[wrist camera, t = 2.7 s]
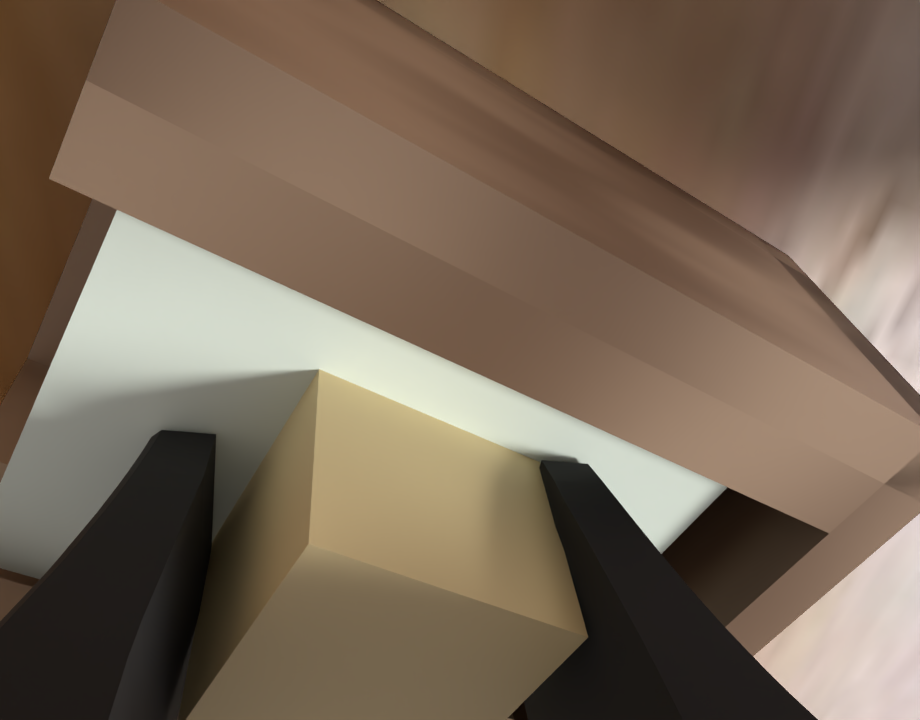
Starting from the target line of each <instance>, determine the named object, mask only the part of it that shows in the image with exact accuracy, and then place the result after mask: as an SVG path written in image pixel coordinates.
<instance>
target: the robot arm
mask: <svg viewBox="0 0 920 720" xmlns="http://www.w3.org/2000/svg"><path fill="white" fill-rule="evenodd" d="M215 453H216V434H208V433H196V432H183V431H170V430H161V431H159V432H158V433H156V434H155V435H153V436H152V437H151V438H150V440H149V441H148V443H147V444H146V446H145V448H144V449H143V451H142V452H141V454H140V455H139V457H138V458H137V459H136V461H135V462H134V464H133V465H132V467H131V468H130V469H129V471H128V472H127V474H126V475H125V476H124V478H123V479H122V480H121V482H120V483H119V485H118V486H117V487H116V489H115V490H114V491H113V492H112V494H111V495H110V496H109V498H108V499H107V500H106V501H105V503H104V504H103V505H102V507H101V508H100V509H99V510H98V512H97V513H96V514H95V515H94V517H93V518H92V519H91V520H90V521H89V523H88V524H87V525H86V526H85V527H84V529H83V530H82V531H81V532H80V533H79V535H78V536H77V537H76V538H75V539H74V540H73V542H72V543H71V544H70V545H69V546H68V548H67V549H66V550H65V551H64V552H63V554H62V555H61V556H60V557H59V558H58V560H57V561H56V562H55V563H54V564H53V565H52V566H51V568H50V569H49V570H48V571H47V572H46V573H45V574H44V575H43V576H42V578H41V579H40V580H39V581H38V582H37V583H36V584H35V585H34V586H33V587H32V588H31V589H30V590H29V591H28V592H27V593H26V595H25V596H24V597H23V598H22V599H21V600H20V601H19V602H18V603H17V604H16V605H15V606H14V607H13V608H12V609H11V610H10V612H9V613H8V614H7V615H6V616H5V617H4V618H3V619H2V620H1V621H0V720H177V717H178V713H179V710H180V705H181V700H182V695H183V690H184V684H185V679H186V674H187V669H188V663H189V658H190V653H191V647H192V642H193V637H194V632H195V627H196V624H197V620H198V616H199V612H200V606H201V601H202V596H203V590H204V585H205V580H206V575H207V569H208V564H209V559H210V553H211V548H212V525H213V501H214V477H215ZM539 469H540V472H541V476H542V480H543V483H544V487H545V490H546V494H547V498H548V501H549V505H550V509H551V512H552V516H553V520H554V523H555V527H556V530H557V532H558V535H559V538H560V541H561V543H562V546H563V549H564V552H565V555H566V559H567V562H568V566H569V570H570V573H571V577H572V580H573V584H574V588H575V591H576V595H577V598H578V602H579V606H580V609H581V613H582V616H583V620H584V623H585V627H586V631H587V634H588V638H587V639H586V640H585V641H584V642H583V643H582V644H581V645H580V646H579V647H578V648H577V649H576V650H575V651H574V652H573V653H572V654H571V655H570V656H569V657H568V658H567V659H566V660H565V661H564V662H563V663H562V664H561V665H560V666H559V667H558V668H557V669H556V670H555V671H554V672H553V673H552V674H551V675H550V676H549V677H548V678H547V679H546V680H545V681H544V682H543V683H542V684H541V685H540V686H539V687H538V688H537V689H536V690H535V691H534V692H533V693H532V694H531V695H530V696H529V697H528V698H527V699H526V700H525V701H524V704H525V708H526V713H527V717H528V720H818V719H817V718H815V717H814V716H813V715H812V714H811V713H810V712H809V711H808V710H807V709H806V708H805V707H804V706H803V705H801V704H800V703H799V702H798V701H797V700H796V699H795V698H794V697H793V696H792V695H791V694H790V693H789V692H788V691H787V690H786V689H785V688H784V687H782V686H781V685H780V684H779V683H778V682H777V681H776V680H775V679H774V678H773V677H772V676H771V675H770V674H769V673H768V672H767V671H766V670H765V669H764V668H763V667H762V666H761V665H760V663H759V662H758V661H757V660H756V659H755V658H754V657H753V656H752V655H751V654H750V653H749V652H748V651H747V650H746V649H745V648H744V647H743V646H742V644H741V643H740V642H739V641H738V640H737V639H736V638H735V637H734V636H733V635H732V634H731V633H730V632H729V631H728V630H727V629H726V628H725V627H724V626H723V624H722V623H721V622H720V621H719V620H718V619H717V618H716V617H715V616H714V614H713V613H712V612H711V611H710V610H709V609H708V608H707V607H706V606H705V604H704V603H703V602H702V601H701V600H700V599H699V598H698V597H697V595H696V594H695V593H694V592H693V591H692V590H691V588H690V587H689V586H688V585H687V584H686V583H685V582H684V580H683V579H682V578H681V577H680V576H679V574H678V573H677V572H676V571H675V570H674V569H673V567H672V566H671V565H670V564H669V563H668V561H667V560H666V559H665V558H664V557H663V555H662V554H661V553H660V552H659V551H658V549H657V548H656V547H655V546H654V545H653V543H652V542H651V541H650V540H649V538H648V537H647V536H646V535H645V533H644V532H643V531H642V530H641V529H640V527H639V526H638V525H637V524H636V522H635V521H634V520H633V519H632V517H631V516H630V515H629V514H628V512H627V511H626V510H625V509H624V507H623V506H622V505H621V504H620V502H619V501H618V500H617V499H616V497H615V496H614V495H613V494H612V492H611V491H610V490H609V489H608V487H607V486H606V485H605V484H604V482H603V481H602V480H601V479H600V478H599V476H598V475H597V474H596V473H595V472H594V470H593V469H592V468H591V467H590V466H589V464H584V463H572V462H559V461H547V460H541V464H540V467H539Z"/></svg>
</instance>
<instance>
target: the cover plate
mask: <svg viewBox="0 0 920 720" xmlns="http://www.w3.org/2000/svg"><path fill="white" fill-rule="evenodd" d="M161 430H170V431H183V432H196V433H208V434H216V453H215V477H214V501H213V525H212V548H211V553H210V559H209V564H208V569H207V575H206V580H205V585H204V590H203V596H202V601H201V606H200V612H199V616H198V620H197V624H196V627H195V632H194V637H193V642H192V647H191V653H190V658H189V663H188V669H187V674H186V679H185V684H184V690H183V695H182V700H181V705H180V711H179V716H178V720H506V719H507V718H508V717H509V716H510V715H511V714H512V713H513V712H514V711H515V710H516V709H517V708H518V707H519V706H520V705H521V704H522V703H523V702H524V701H525V700H526V699H527V698H528V697H529V696H530V695H531V694H532V693H533V692H534V691H535V690H536V689H537V688H538V687H539V686H540V685H541V684H542V683H543V682H544V681H545V680H546V679H547V678H548V677H549V676H550V675H551V674H552V673H553V672H554V671H555V670H556V669H557V668H558V667H559V666H560V665H561V664H562V663H563V662H564V661H565V660H566V659H567V658H568V657H569V656H570V655H571V654H572V653H573V652H574V651H575V650H576V649H577V648H578V647H579V646H580V645H581V644H582V643H583V642H584V641H585V640H586V639H587V638H588V634H587V631H586V627H585V623H584V620H583V616H582V613H581V609H580V606H579V602H578V598H577V595H576V591H575V588H574V584H573V580H572V577H571V573H570V570H569V566H568V562H567V559H566V555H565V552H564V549H563V546H562V543H561V541H560V538H559V535H558V532H557V530H556V527H555V523H554V520H553V516H552V512H551V509H550V505H549V501H548V498H547V494H546V490H545V487H544V483H543V480H542V476H541V472H540V469H539V467H540V464H541V460H547V461H559V462H572V463H584V464H589V466H590V467H591V468H592V469H593V470H594V472H595V473H596V474H597V475H598V476H599V478H600V479H601V480H602V481H603V482H604V484H605V485H606V486H607V487H608V489H609V490H610V491H611V492H612V494H613V495H614V496H615V497H616V499H617V500H618V501H619V502H620V504H621V505H622V506H623V507H624V509H625V510H626V511H627V512H628V514H629V515H630V516H631V517H632V519H633V520H634V521H635V522H636V524H637V525H638V526H639V527H640V529H641V530H642V531H643V532H644V533H645V535H646V536H647V537H648V538H649V540H650V541H651V542H652V543H653V545H654V546H655V547H656V548H657V549H658V551H659V552H660V553H661V554H662V553H663V552H664V551H665V550H666V549H667V548H668V547H669V546H670V545H671V544H672V543H673V542H674V541H675V540H676V539H677V538H678V537H679V536H680V535H681V534H682V533H683V532H684V531H685V530H686V529H687V528H688V527H689V526H690V525H691V524H692V523H693V522H694V521H695V520H696V519H697V518H698V517H699V516H700V515H701V514H702V513H703V512H704V511H705V510H706V509H707V508H708V507H709V506H710V505H711V503H712V502H713V501H714V500H715V499H716V498H717V497H718V496H719V495H720V494H721V493H722V492H723V491H724V490H725V489H726V488H727V487H726V486H724V485H722V484H719V483H717V482H715V481H713V480H711V479H708V478H706V477H704V476H702V475H700V474H697V473H695V472H693V471H691V470H689V469H686V468H684V467H682V466H680V465H678V464H675V463H673V462H671V461H669V460H666V459H664V458H662V457H660V456H658V455H655V454H653V453H651V452H649V451H647V450H645V449H642V448H640V447H638V446H636V445H634V444H631V443H629V442H627V441H625V440H622V439H620V438H618V437H616V436H614V435H611V434H609V433H607V432H605V431H603V430H600V429H598V428H596V427H594V426H592V425H589V424H587V423H585V422H583V421H581V420H578V419H576V418H574V417H572V416H570V415H567V414H565V413H563V412H561V411H559V410H556V409H554V408H552V407H550V406H548V405H545V404H543V403H541V402H539V401H537V400H534V399H532V398H530V397H528V396H526V395H523V394H521V393H519V392H517V391H515V390H512V389H510V388H508V387H506V386H504V385H501V384H499V383H497V382H495V381H493V380H490V379H488V378H486V377H484V376H482V375H479V374H477V373H475V372H473V371H471V370H468V369H466V368H464V367H462V366H460V365H457V364H455V363H453V362H451V361H449V360H446V359H444V358H442V357H440V356H438V355H435V354H433V353H431V352H429V351H427V350H424V349H422V348H420V347H418V346H416V345H413V344H411V343H409V342H407V341H405V340H402V339H400V338H398V337H396V336H394V335H391V334H389V333H387V332H385V331H383V330H380V329H378V328H376V327H374V326H372V325H369V324H367V323H365V322H363V321H361V320H358V319H356V318H354V317H352V316H350V315H347V314H345V313H343V312H341V311H339V310H336V309H334V308H332V307H330V306H328V305H325V304H323V303H321V302H319V301H317V300H314V299H312V298H310V297H308V296H306V295H303V294H301V293H299V292H297V291H295V290H292V289H290V288H288V287H286V286H284V285H281V284H279V283H277V282H275V281H273V280H270V279H268V278H266V277H264V276H262V275H259V274H257V273H255V272H253V271H251V270H248V269H246V268H244V267H242V266H240V265H237V264H235V263H233V262H231V261H229V260H226V259H224V258H222V257H220V256H218V255H215V254H213V253H211V252H209V251H207V250H204V249H202V248H200V247H198V246H196V245H193V244H191V243H189V242H187V241H185V240H182V239H180V238H178V237H176V236H174V235H171V234H169V233H167V232H165V231H163V230H160V229H158V228H156V227H154V226H152V225H149V224H147V223H145V222H143V221H141V220H138V219H136V218H134V217H132V216H130V215H127V214H125V213H123V212H121V211H119V210H117V211H116V213H115V216H114V218H113V220H112V223H111V225H110V227H109V230H108V232H107V234H106V237H105V239H104V241H103V244H102V246H101V248H100V251H99V253H98V255H97V258H96V260H95V263H94V265H93V267H92V270H91V272H90V274H89V277H88V279H87V281H86V284H85V286H84V288H83V291H82V293H81V295H80V298H79V300H78V302H77V305H76V307H75V309H74V312H73V314H72V316H71V319H70V321H69V323H68V326H67V328H66V330H65V333H64V335H63V337H62V340H61V342H60V344H59V347H58V349H57V351H56V354H55V356H54V358H53V361H52V363H51V365H50V368H49V370H48V372H47V375H46V377H45V379H44V382H43V384H42V386H41V389H40V391H39V393H38V396H37V398H36V400H35V403H34V405H33V408H32V410H31V412H30V415H29V417H28V419H27V422H26V424H25V426H24V429H23V431H22V433H21V436H20V438H19V440H18V443H17V445H16V447H15V450H14V452H13V454H12V457H11V459H10V461H9V464H8V466H7V468H6V471H5V473H4V475H3V478H2V480H1V482H0V568H1V569H5V570H9V571H12V572H16V573H19V574H23V575H26V576H30V577H34V578H37V579H41V578H42V576H43V575H44V574H45V573H46V572H47V571H48V570H49V569H50V568H51V566H52V565H53V564H54V563H55V562H56V561H57V560H58V558H59V557H60V556H61V555H62V554H63V552H64V551H65V550H66V549H67V548H68V546H69V545H70V544H71V543H72V542H73V540H74V539H75V538H76V537H77V536H78V535H79V533H80V532H81V531H82V530H83V529H84V527H85V526H86V525H87V524H88V523H89V521H90V520H91V519H92V518H93V517H94V515H95V514H96V513H97V512H98V510H99V509H100V508H101V507H102V505H103V504H104V503H105V501H106V500H107V499H108V498H109V496H110V495H111V494H112V492H113V491H114V490H115V489H116V487H117V486H118V485H119V483H120V482H121V480H122V479H123V478H124V476H125V475H126V474H127V472H128V471H129V469H130V468H131V467H132V465H133V464H134V462H135V461H136V459H137V458H138V457H139V455H140V454H141V452H142V451H143V449H144V448H145V446H146V444H147V443H148V441H149V440H150V438H151V437H152V436H153V435H155V434H156V433H158V432H159V431H161Z"/></svg>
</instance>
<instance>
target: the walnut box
mask: <svg viewBox="0 0 920 720" xmlns="http://www.w3.org/2000/svg"><path fill="white" fill-rule="evenodd" d="M49 179H50V180H53V181H55V182H57V183H59V184H61V185H64V186H66V187H68V188H70V189H72V190H75V191H77V192H79V193H81V194H83V195H86V196H88V197H90V198H92V201H91V204H90V206H89V209H88V211H87V214H86V216H85V218H84V221H83V223H82V226H81V228H80V231H79V233H78V236H77V238H76V240H75V243H74V245H73V248H72V250H71V253H70V255H69V258H68V260H67V262H66V265H65V267H64V270H63V272H62V275H61V277H60V280H59V282H58V284H57V287H56V289H55V292H54V294H53V297H52V299H51V302H50V304H49V306H48V309H47V311H46V314H45V316H44V319H43V321H42V324H41V326H40V329H39V331H38V333H37V336H36V338H35V341H34V343H33V346H32V348H31V351H30V353H29V355H28V358H27V360H26V361H25V363H24V365H23V367H22V368H21V370H20V372H19V374H18V375H17V377H16V379H15V380H14V382H13V384H12V386H11V387H10V389H9V391H8V393H7V394H6V396H5V398H4V399H3V401H2V403H1V405H0V482H1V480H2V478H3V475H4V473H5V471H6V468H7V466H8V464H9V461H10V459H11V457H12V454H13V452H14V450H15V447H16V445H17V443H18V440H19V438H20V436H21V433H22V431H23V429H24V426H25V424H26V422H27V419H28V417H29V415H30V412H31V410H32V408H33V405H34V403H35V400H36V398H37V396H38V393H39V391H40V389H41V386H42V384H43V382H44V379H45V377H46V375H47V372H48V370H49V368H50V365H51V363H52V361H53V358H54V356H55V354H56V351H57V349H58V347H59V344H60V342H61V340H62V337H63V335H64V333H65V330H66V328H67V326H68V323H69V321H70V319H71V316H72V314H73V312H74V309H75V307H76V305H77V302H78V300H79V298H80V295H81V293H82V291H83V288H84V286H85V284H86V281H87V279H88V277H89V274H90V272H91V270H92V267H93V265H94V263H95V260H96V258H97V255H98V253H99V251H100V248H101V246H102V244H103V241H104V239H105V237H106V234H107V232H108V230H109V227H110V225H111V223H112V220H113V218H114V216H115V213H116V211H117V210H119V211H121V212H123V213H125V214H127V215H130V216H132V217H134V218H136V219H138V220H141V221H143V222H145V223H147V224H149V225H152V226H154V227H156V228H158V229H160V230H163V231H165V232H167V233H169V234H171V235H174V236H176V237H178V238H180V239H182V240H185V241H187V242H189V243H191V244H193V245H196V246H198V247H200V248H202V249H204V250H207V251H209V252H211V253H213V254H215V255H218V256H220V257H222V258H224V259H226V260H229V261H231V262H233V263H235V264H237V265H240V266H242V267H244V268H246V269H248V270H251V271H253V272H255V273H257V274H259V275H262V276H264V277H266V278H268V279H270V280H273V281H275V282H277V283H279V284H281V285H284V286H286V287H288V288H290V289H292V290H295V291H297V292H299V293H301V294H303V295H306V296H308V297H310V298H312V299H314V300H317V301H319V302H321V303H323V304H325V305H328V306H330V307H332V308H334V309H336V310H339V311H341V312H343V313H345V314H347V315H350V316H352V317H354V318H356V319H358V320H361V321H363V322H365V323H367V324H369V325H372V326H374V327H376V328H378V329H380V330H383V331H385V332H387V333H389V334H391V335H394V336H396V337H398V338H400V339H402V340H405V341H407V342H409V343H411V344H413V345H416V346H418V347H420V348H422V349H424V350H427V351H429V352H431V353H433V354H435V355H438V356H440V357H442V358H444V359H446V360H449V361H451V362H453V363H455V364H457V365H460V366H462V367H464V368H466V369H468V370H471V371H473V372H475V373H477V374H479V375H482V376H484V377H486V378H488V379H490V380H493V381H495V382H497V383H499V384H501V385H504V386H506V387H508V388H510V389H512V390H515V391H517V392H519V393H521V394H523V395H526V396H528V397H530V398H532V399H534V400H537V401H539V402H541V403H543V404H545V405H548V406H550V407H552V408H554V409H556V410H559V411H561V412H563V413H565V414H567V415H570V416H572V417H574V418H576V419H578V420H581V421H583V422H585V423H587V424H589V425H592V426H594V427H596V428H598V429H600V430H603V431H605V432H607V433H609V434H611V435H614V436H616V437H618V438H620V439H622V440H625V441H627V442H629V443H631V444H634V445H636V446H638V447H640V448H642V449H645V450H647V451H649V452H651V453H653V454H655V455H658V456H660V457H662V458H664V459H666V460H669V461H671V462H673V463H675V464H678V465H680V466H682V467H684V468H686V469H689V470H691V471H693V472H695V473H697V474H700V475H702V476H704V477H706V478H708V479H711V480H713V481H715V482H717V483H719V484H722V485H724V486H726V487H727V488H726V489H725V490H724V491H723V492H722V493H721V494H720V495H719V496H718V497H717V498H716V499H715V500H714V501H713V502H712V503H711V505H710V506H709V507H708V508H707V509H706V510H705V511H704V512H703V513H702V514H701V515H700V516H699V517H698V518H697V519H696V520H695V521H694V522H693V523H692V524H691V525H690V526H689V527H688V528H687V529H686V530H685V531H684V532H683V533H682V534H681V535H680V536H679V537H678V538H677V539H676V540H675V541H674V542H673V543H672V544H671V545H670V546H669V547H668V548H667V549H666V550H665V551H664V552H663V553H662V555H663V557H664V558H665V559H666V560H667V561H668V563H669V564H670V565H671V566H672V567H673V569H674V570H675V571H676V572H677V573H678V574H679V576H680V577H681V578H682V579H683V580H684V582H685V583H686V584H687V585H688V586H689V587H690V588H691V590H692V591H693V592H694V593H695V594H696V595H697V597H698V598H699V599H700V600H701V601H702V602H703V603H704V604H705V606H706V607H707V608H708V609H709V610H710V611H711V612H712V613H713V614H714V616H715V617H716V618H717V619H718V620H719V621H720V622H721V623H722V624H723V626H724V627H725V628H726V629H727V630H728V631H729V632H730V633H731V634H732V635H733V636H734V637H735V638H736V639H737V640H738V641H739V642H740V643H741V644H742V646H743V647H744V648H745V649H746V650H747V651H748V652H749V653H750V654H751V655H752V656H754V655H755V654H756V653H757V652H758V651H760V650H761V649H762V648H763V647H764V646H765V645H767V644H768V643H769V642H770V641H771V640H772V639H774V638H775V637H776V636H777V635H778V634H779V633H781V632H782V631H783V630H784V629H785V628H786V627H788V626H789V625H790V624H791V623H792V622H793V621H795V620H796V619H797V618H798V617H799V616H800V615H802V614H803V613H804V612H805V611H806V610H807V609H809V608H810V607H811V606H812V605H813V604H814V603H816V602H817V601H818V600H819V599H820V598H821V597H823V596H824V595H825V594H826V593H827V592H828V591H830V590H831V589H832V588H833V587H834V586H835V585H837V584H838V583H839V582H840V581H841V580H842V579H844V578H845V577H846V576H847V575H848V574H849V573H851V572H852V571H853V570H854V569H855V568H856V567H858V566H859V565H860V564H861V563H862V562H863V561H865V560H866V559H867V558H868V557H869V556H870V555H872V554H873V553H874V552H875V551H876V550H877V549H879V548H880V547H881V546H882V545H883V544H884V543H886V542H887V541H888V540H889V539H890V538H891V537H893V536H894V535H895V534H896V533H897V532H898V531H900V530H901V529H902V528H903V527H904V526H905V525H907V524H908V523H909V522H910V521H911V520H912V519H914V518H915V517H916V516H917V515H918V514H919V513H920V395H919V394H918V393H917V392H916V391H915V389H914V388H913V387H912V386H911V385H910V384H909V383H908V382H907V381H906V380H905V379H904V378H903V377H902V376H901V375H900V374H899V373H898V371H897V370H896V369H895V368H894V367H893V366H892V365H891V364H890V363H889V362H888V361H887V360H886V359H885V358H884V357H883V356H882V354H881V353H880V352H879V351H878V350H877V349H876V348H875V347H874V346H873V345H872V344H871V343H870V342H869V341H868V340H867V339H866V337H865V336H864V335H863V334H862V333H861V332H860V331H859V330H858V329H857V328H856V327H855V326H854V325H853V324H852V323H851V322H850V321H849V319H848V318H847V317H846V316H845V315H844V314H843V313H842V312H841V311H840V310H839V309H838V308H837V307H836V306H835V305H834V304H833V302H832V301H831V300H830V299H829V298H828V297H827V296H826V295H825V294H824V293H823V292H822V291H821V290H820V289H819V288H818V287H817V285H816V284H815V283H814V282H813V281H812V280H811V279H810V278H809V277H808V276H807V275H806V274H805V273H804V272H803V271H802V270H801V269H800V267H799V266H798V265H797V264H796V263H795V262H794V261H793V260H792V259H791V258H790V257H789V256H788V255H786V254H785V253H783V252H782V251H780V250H778V249H777V248H775V247H773V246H772V245H770V244H769V243H767V242H765V241H764V240H762V239H761V238H759V237H757V236H756V235H754V234H753V233H751V232H749V231H748V230H746V229H744V228H743V227H741V226H740V225H738V224H736V223H735V222H733V221H732V220H730V219H728V218H727V217H725V216H723V215H722V214H720V213H719V212H717V211H715V210H714V209H712V208H711V207H709V206H707V205H706V204H704V203H702V202H701V201H699V200H698V199H696V198H694V197H693V196H691V195H690V194H688V193H686V192H685V191H683V190H681V189H680V188H678V187H677V186H675V185H673V184H672V183H670V182H669V181H667V180H665V179H664V178H662V177H660V176H659V175H657V174H656V173H654V172H652V171H651V170H649V169H648V168H646V167H644V166H643V165H641V164H640V163H638V162H636V161H635V160H633V159H631V158H630V157H628V156H627V155H625V154H623V153H622V152H620V151H619V150H617V149H615V148H614V147H612V146H610V145H609V144H607V143H606V142H604V141H602V140H601V139H599V138H598V137H596V136H594V135H593V134H591V133H589V132H588V131H586V130H585V129H583V128H581V127H580V126H578V125H577V124H575V123H573V122H572V121H570V120H568V119H567V118H565V117H564V116H562V115H560V114H559V113H557V112H556V111H554V110H552V109H551V108H549V107H547V106H546V105H544V104H543V103H541V102H539V101H538V100H536V99H535V98H533V97H531V96H530V95H528V94H527V93H525V92H523V91H522V90H520V89H518V88H517V87H515V86H514V85H512V84H510V83H509V82H507V81H506V80H504V79H502V78H501V77H499V76H497V75H496V74H494V73H493V72H491V71H489V70H488V69H486V68H485V67H483V66H481V65H480V64H478V63H476V62H475V61H473V60H472V59H470V58H468V57H467V56H465V55H464V54H462V53H460V52H459V51H457V50H455V49H454V48H452V47H451V46H449V45H447V44H446V43H444V42H443V41H441V40H439V39H438V38H436V37H435V36H433V35H431V34H430V33H428V32H426V31H425V30H423V29H422V28H420V27H418V26H417V25H415V24H414V23H412V22H410V21H409V20H407V19H405V18H404V17H402V16H401V15H399V14H397V13H396V12H394V11H393V10H391V9H389V8H388V7H386V6H384V5H383V4H381V3H380V2H378V1H376V0H116V2H115V4H114V7H113V9H112V12H111V15H110V17H109V20H108V23H107V25H106V28H105V31H104V33H103V36H102V39H101V41H100V44H99V47H98V49H97V52H96V55H95V57H94V60H93V63H92V65H91V68H90V71H89V73H88V76H87V79H86V81H85V84H84V87H83V89H82V92H81V94H80V97H79V100H78V102H77V105H76V108H75V110H74V113H73V116H72V118H71V121H70V124H69V126H68V129H67V132H66V134H65V137H64V140H63V142H62V145H61V148H60V150H59V153H58V156H57V158H56V161H55V164H54V166H53V169H52V172H51V174H50V177H49ZM39 580H40V579H37V578H34V577H30V576H26V575H23V574H19V573H16V572H12V571H9V570H5V569H1V568H0V621H1V620H2V619H3V618H4V617H5V616H6V615H7V614H8V613H9V612H10V610H11V609H12V608H13V607H14V606H15V605H16V604H17V603H18V602H19V601H20V600H21V599H22V598H23V597H24V596H25V595H26V593H27V592H28V591H29V590H30V589H31V588H32V587H33V586H34V585H35V584H36V583H37V582H38V581H39ZM179 711H180V710H179ZM178 716H179V713H178ZM177 720H178V717H177ZM506 720H528V717H527V713H526V708H525V704H524V702H523V703H522V704H521V705H520V706H519V707H518V708H517V709H516V710H515V711H514V712H513V713H512V714H511V715H510V716H509V717H508V718H507V719H506Z"/></svg>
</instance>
